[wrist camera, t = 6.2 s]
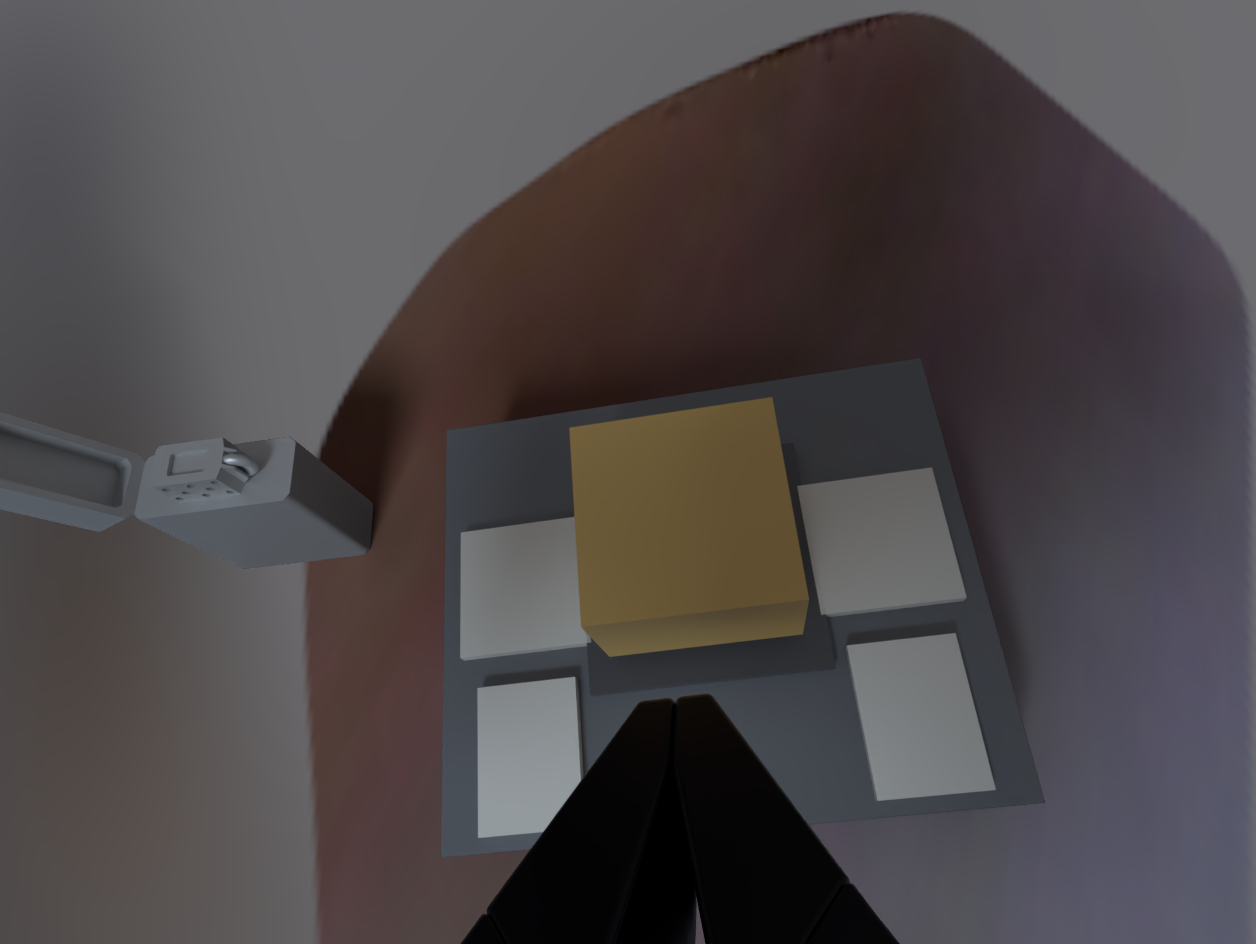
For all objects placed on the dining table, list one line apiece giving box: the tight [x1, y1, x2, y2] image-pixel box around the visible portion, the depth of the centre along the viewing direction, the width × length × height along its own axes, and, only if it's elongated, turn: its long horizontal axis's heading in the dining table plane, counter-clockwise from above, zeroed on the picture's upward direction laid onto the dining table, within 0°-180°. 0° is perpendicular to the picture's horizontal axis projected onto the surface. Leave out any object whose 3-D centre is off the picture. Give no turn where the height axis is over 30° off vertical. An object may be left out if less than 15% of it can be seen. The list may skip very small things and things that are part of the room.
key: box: [569, 397, 809, 657], centre depth 16 cm, size 4×4×3 cm
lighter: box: [0, 412, 373, 569], centre depth 20 cm, size 7×2×8 cm, turn 94°
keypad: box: [441, 358, 1045, 857], centre depth 19 cm, size 10×12×3 cm
